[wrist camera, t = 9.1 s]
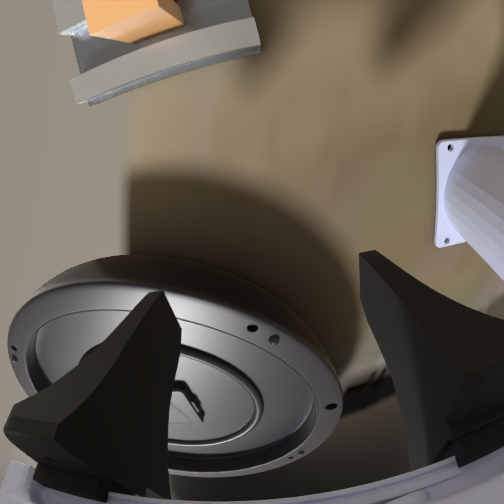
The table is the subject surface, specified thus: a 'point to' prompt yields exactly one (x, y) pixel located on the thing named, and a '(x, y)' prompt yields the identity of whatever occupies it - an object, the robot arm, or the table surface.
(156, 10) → the orange notched block
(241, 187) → the table surface
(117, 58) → the slotted rail
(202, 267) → the grey bolted disc
